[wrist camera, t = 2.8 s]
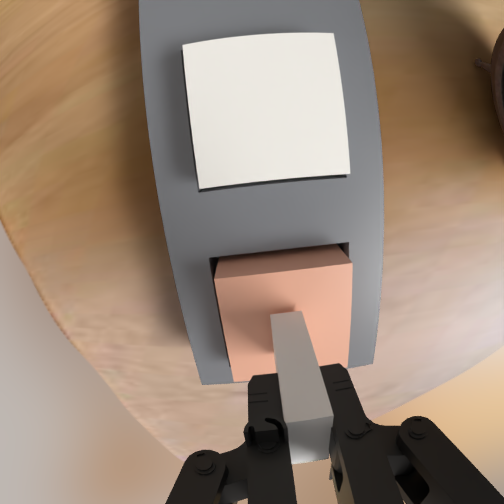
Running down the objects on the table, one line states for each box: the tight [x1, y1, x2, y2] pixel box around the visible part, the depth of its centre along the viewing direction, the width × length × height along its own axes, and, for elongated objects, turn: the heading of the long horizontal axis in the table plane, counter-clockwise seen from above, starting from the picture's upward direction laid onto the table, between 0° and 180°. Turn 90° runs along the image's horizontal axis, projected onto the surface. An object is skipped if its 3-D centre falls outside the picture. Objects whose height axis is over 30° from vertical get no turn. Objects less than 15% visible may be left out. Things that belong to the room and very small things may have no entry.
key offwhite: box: [182, 33, 350, 189], centre depth 13 cm, size 6×6×3 cm
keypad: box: [139, 0, 384, 385], centre depth 15 cm, size 11×31×4 cm, turn 6°
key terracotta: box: [214, 243, 353, 382], centre depth 16 cm, size 6×6×3 cm
